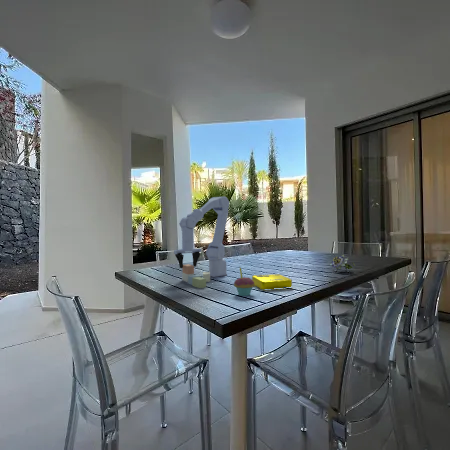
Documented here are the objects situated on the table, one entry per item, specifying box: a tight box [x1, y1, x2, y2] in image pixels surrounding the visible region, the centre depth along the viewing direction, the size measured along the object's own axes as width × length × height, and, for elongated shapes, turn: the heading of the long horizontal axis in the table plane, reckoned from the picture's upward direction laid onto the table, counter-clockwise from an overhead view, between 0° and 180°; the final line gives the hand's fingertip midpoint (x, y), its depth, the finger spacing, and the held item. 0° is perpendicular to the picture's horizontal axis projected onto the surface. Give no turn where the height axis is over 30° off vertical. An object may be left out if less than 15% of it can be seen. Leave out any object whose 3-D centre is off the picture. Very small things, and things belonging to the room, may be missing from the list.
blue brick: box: [187, 274, 203, 286], centre depth 144 cm, size 6×4×4 cm, turn 135°
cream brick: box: [202, 271, 211, 283], centre depth 151 cm, size 6×4×4 cm, turn 5°
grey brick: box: [181, 272, 195, 283], centre depth 150 cm, size 6×4×4 cm, turn 34°
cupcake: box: [233, 267, 256, 297], centre depth 123 cm, size 9×8×12 cm
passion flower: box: [329, 254, 356, 270], centre depth 174 cm, size 11×11×12 cm
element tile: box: [251, 273, 293, 290], centre depth 138 cm, size 15×15×5 cm
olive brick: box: [191, 277, 207, 289], centre depth 138 cm, size 6×4×4 cm, turn 41°
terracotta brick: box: [182, 263, 195, 275], centre depth 150 cm, size 6×4×4 cm, turn 33°
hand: (188, 267), depth 150 cm, fingers open, 7 cm apart
